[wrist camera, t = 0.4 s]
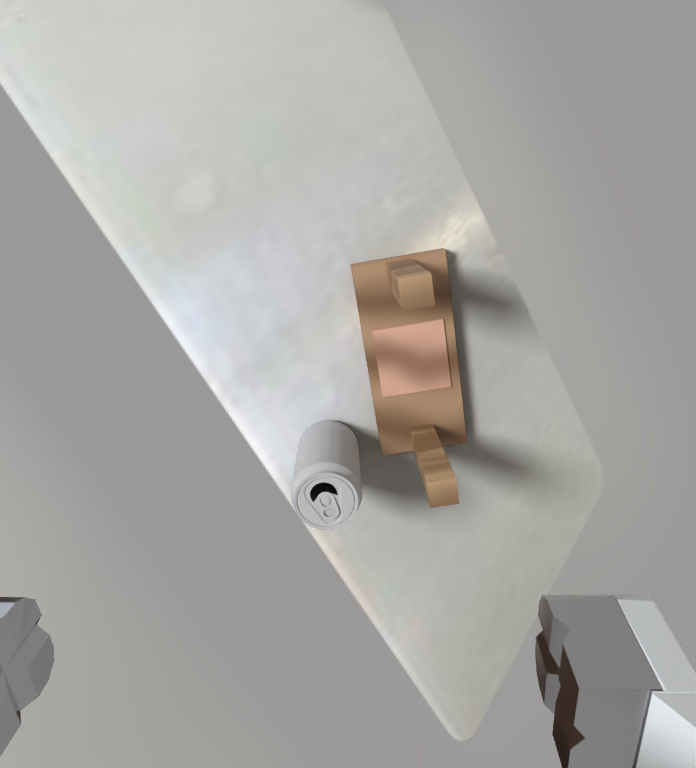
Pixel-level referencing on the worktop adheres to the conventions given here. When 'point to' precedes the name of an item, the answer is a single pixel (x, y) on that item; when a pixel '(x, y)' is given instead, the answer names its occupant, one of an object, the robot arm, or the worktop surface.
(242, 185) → the worktop surface
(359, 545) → the worktop surface
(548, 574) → the worktop surface
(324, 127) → the worktop surface
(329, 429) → the beverage can
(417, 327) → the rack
